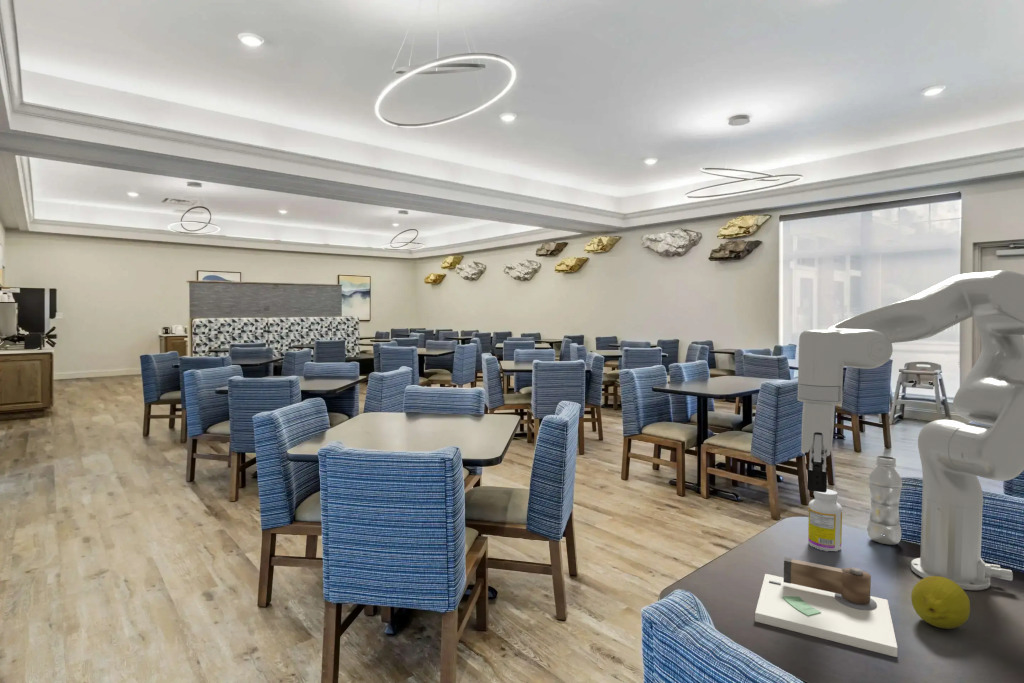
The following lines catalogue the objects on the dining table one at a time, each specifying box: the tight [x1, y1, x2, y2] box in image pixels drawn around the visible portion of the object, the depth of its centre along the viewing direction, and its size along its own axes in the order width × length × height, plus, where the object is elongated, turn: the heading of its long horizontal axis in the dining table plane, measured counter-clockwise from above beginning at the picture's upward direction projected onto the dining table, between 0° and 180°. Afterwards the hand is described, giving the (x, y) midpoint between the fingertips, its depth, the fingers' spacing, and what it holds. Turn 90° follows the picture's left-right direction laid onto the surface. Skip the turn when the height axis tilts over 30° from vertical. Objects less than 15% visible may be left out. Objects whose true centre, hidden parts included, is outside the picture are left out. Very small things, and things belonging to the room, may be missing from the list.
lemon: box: [910, 576, 971, 630], centre depth 93 cm, size 11×8×8 cm
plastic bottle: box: [866, 455, 903, 545], centre depth 128 cm, size 6×7×20 cm
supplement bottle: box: [807, 488, 843, 552], centre depth 126 cm, size 7×7×13 cm
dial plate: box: [754, 573, 898, 658], centre depth 97 cm, size 20×17×2 cm
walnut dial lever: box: [783, 556, 872, 604], centre depth 101 cm, size 14×4×5 cm, turn 60°
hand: (817, 487), depth 107 cm, fingers open, 2 cm apart
